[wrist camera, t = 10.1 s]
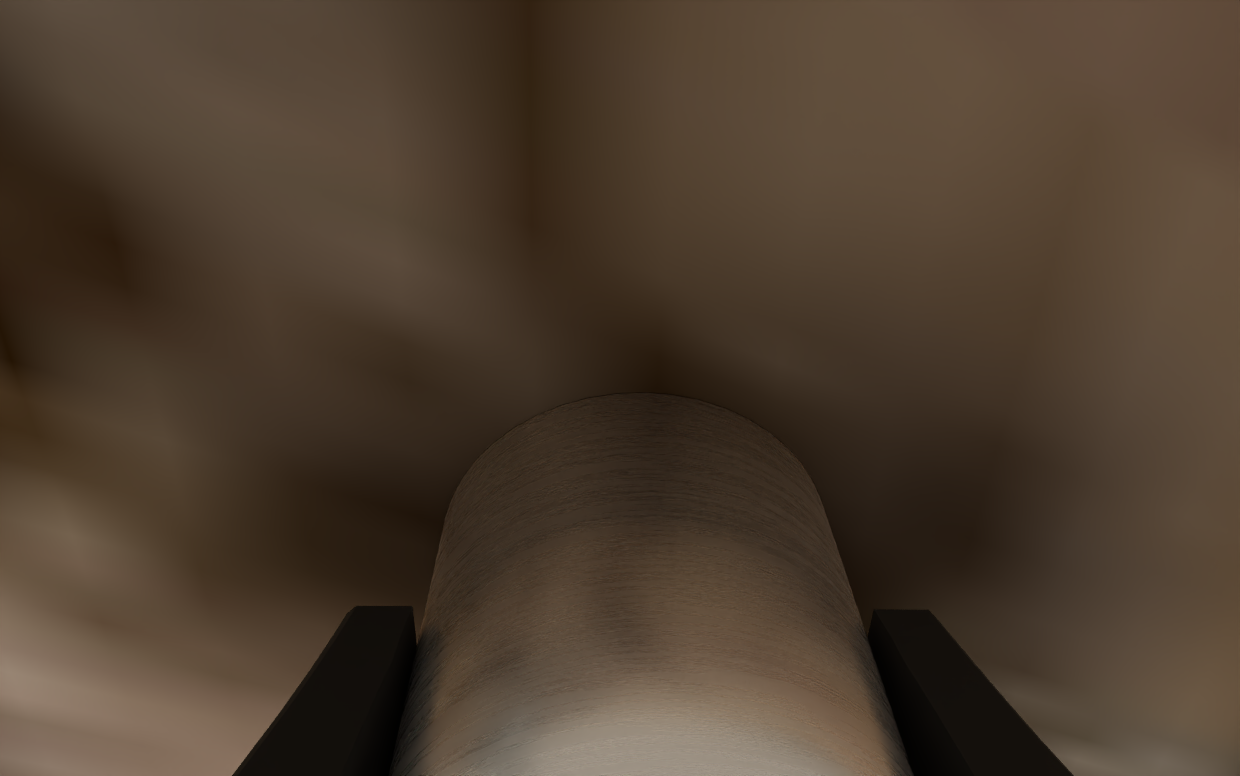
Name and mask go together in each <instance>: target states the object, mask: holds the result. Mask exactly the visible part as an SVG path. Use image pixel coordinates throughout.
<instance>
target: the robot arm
mask: <svg viewBox="0 0 1240 776" xmlns="http://www.w3.org/2000/svg"><path fill="white" fill-rule="evenodd" d="M868 641H869V644H870V647H871V650H872V653H873V656H874V659H875V662H876V665H877V668H878V671H879V674H880V676H881V679H882V682H883V685H884V688H885V691H886V694H887V697H888V700H889V703H890V706H891V709H892V712H893V715H894V718H895V721H896V724H897V727H898V730H899V733H900V736H901V739H902V742H903V745H904V748H905V751H906V754H907V757H908V760H909V763H910V766H911V769H912V772H913V775H914V776H1074V775H1073V774H1072V773H1071V772H1070V771H1069V770H1068V769H1067V768H1066V767H1065V766H1064V765H1063V763H1062V762H1061V761H1060V760H1059V759H1058V758H1057V757H1056V756H1055V755H1054V754H1053V753H1052V751H1051V750H1050V749H1049V748H1048V747H1047V746H1046V745H1045V744H1044V743H1043V742H1042V741H1041V739H1040V738H1039V737H1038V736H1037V735H1036V734H1035V733H1034V732H1033V730H1032V729H1031V728H1030V727H1029V726H1028V725H1027V724H1026V723H1025V721H1024V720H1023V719H1022V718H1021V717H1020V716H1019V715H1018V713H1017V712H1016V711H1015V710H1014V709H1013V708H1012V707H1011V705H1010V704H1009V703H1008V702H1007V701H1006V700H1005V698H1004V697H1003V696H1002V695H1001V694H1000V693H999V691H998V690H997V689H996V688H995V687H994V686H993V685H992V683H991V682H990V681H989V680H988V679H987V677H986V676H985V675H984V674H983V673H982V672H981V670H980V669H979V668H978V667H977V666H976V665H975V663H974V662H973V661H972V660H971V659H970V657H969V656H968V655H967V654H966V653H965V652H964V650H963V649H962V648H961V647H960V646H959V644H958V643H957V642H956V641H955V640H954V639H953V637H952V636H951V635H950V634H949V633H948V631H947V630H946V629H945V628H944V627H943V626H942V624H941V623H940V622H939V621H938V620H937V619H936V617H935V616H934V615H933V614H932V613H931V612H930V611H929V610H874V612H873V616H872V621H871V625H870V629H869V634H868ZM416 648H417V643H416V634H415V625H414V616H413V607H412V606H356V607H354V608H353V609H352V610H351V611H350V612H348V613H347V614H346V616H345V618H344V619H343V621H342V622H341V624H340V626H339V627H338V629H337V630H336V632H335V633H334V635H333V636H332V638H331V639H330V641H329V642H328V644H327V646H326V647H325V649H324V650H323V652H322V653H321V655H320V656H319V658H318V659H317V661H316V662H315V663H314V665H313V666H312V668H311V669H310V671H309V672H308V674H307V675H306V677H305V678H304V679H303V681H302V682H301V684H300V685H299V686H298V688H297V689H296V691H295V692H294V694H293V695H292V696H291V698H290V699H289V701H288V702H287V703H286V705H285V706H284V708H283V709H282V710H281V712H280V713H279V714H278V716H277V717H276V718H275V720H274V721H273V722H272V724H271V725H270V726H269V728H268V729H267V730H266V732H265V733H264V734H263V736H262V737H261V738H260V740H259V741H258V742H257V744H256V745H255V746H254V748H253V749H252V750H251V751H250V753H249V754H248V755H247V757H246V758H245V759H244V761H243V762H242V763H241V765H240V766H239V767H238V769H237V770H236V771H235V773H234V774H233V775H232V776H389V771H390V766H391V762H392V757H393V753H394V748H395V744H396V739H397V735H398V730H399V726H400V721H401V717H402V712H403V707H404V703H405V698H406V694H407V689H408V685H409V680H410V676H411V671H412V667H413V662H414V658H415V653H416Z"/></svg>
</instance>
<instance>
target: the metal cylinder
mask: <svg viewBox="0 0 1240 776" xmlns="http://www.w3.org/2000/svg"><path fill="white" fill-rule="evenodd" d="M389 776H914V775H913V772H912V769H911V766H910V763H909V760H908V757H907V754H906V751H905V748H904V745H903V742H902V739H901V736H900V733H899V730H898V727H897V724H896V721H895V718H894V715H893V712H892V709H891V706H890V703H889V700H888V697H887V694H886V691H885V688H884V685H883V682H882V679H881V676H880V674H879V671H878V668H877V665H876V662H875V659H874V656H873V653H872V650H871V647H870V644H869V641H868V638H867V635H866V632H865V629H864V626H863V623H862V620H861V617H860V614H859V611H858V608H857V605H856V602H855V599H854V596H853V593H852V590H851V587H850V584H849V581H848V578H847V575H846V572H845V569H844V566H843V563H842V560H841V557H840V554H839V552H838V549H837V546H836V543H835V540H834V537H833V534H832V531H831V528H830V525H829V522H828V519H827V516H826V513H825V510H824V507H823V504H822V501H821V499H820V496H819V494H818V492H817V489H816V487H815V485H814V482H813V481H812V479H811V477H810V476H809V474H808V473H807V471H806V470H805V468H804V467H803V465H802V464H801V462H800V461H799V460H798V459H797V458H796V457H795V456H794V455H793V453H792V452H791V451H790V450H789V449H788V448H787V447H786V446H785V445H784V444H783V443H781V442H780V441H779V440H778V439H777V438H775V437H774V436H773V435H772V434H771V433H769V432H768V431H767V430H765V429H763V428H762V427H760V426H758V425H757V424H755V423H754V422H752V421H750V420H749V419H747V418H745V417H743V416H741V415H738V414H736V413H734V412H732V411H730V410H727V409H725V408H723V407H719V406H716V405H713V404H710V403H707V402H703V401H700V400H696V399H691V398H685V397H680V396H675V395H666V394H652V393H628V394H612V395H606V396H600V397H593V398H587V399H584V400H580V401H576V402H573V403H569V404H565V405H562V406H559V407H557V408H554V409H552V410H549V411H547V412H544V413H542V414H539V415H537V416H535V417H533V418H531V419H530V420H528V421H526V422H524V423H522V424H520V425H519V426H517V427H515V428H513V429H512V430H511V431H509V432H508V433H507V434H505V435H504V436H503V437H501V438H500V439H498V440H497V441H496V442H494V443H493V444H492V445H491V446H490V447H489V448H488V449H487V450H486V451H485V452H484V453H483V454H482V455H481V456H480V457H479V458H478V459H477V460H476V461H475V462H474V464H473V465H472V466H471V468H470V469H469V470H468V472H467V473H466V474H465V475H464V477H463V478H462V480H461V482H460V484H459V486H458V487H457V489H456V491H455V493H454V495H453V497H452V499H451V502H450V505H449V508H448V511H447V514H446V517H445V521H444V526H443V530H442V535H441V539H440V544H439V549H438V553H437V558H436V562H435V567H434V571H433V576H432V580H431V585H430V589H429V594H428V598H427V603H426V608H425V612H424V617H423V621H422V626H421V630H420V635H419V639H418V644H417V648H416V653H415V658H414V662H413V667H412V671H411V676H410V680H409V685H408V689H407V694H406V698H405V703H404V707H403V712H402V717H401V721H400V726H399V730H398V735H397V739H396V744H395V748H394V753H393V757H392V762H391V766H390V771H389Z"/></svg>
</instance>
